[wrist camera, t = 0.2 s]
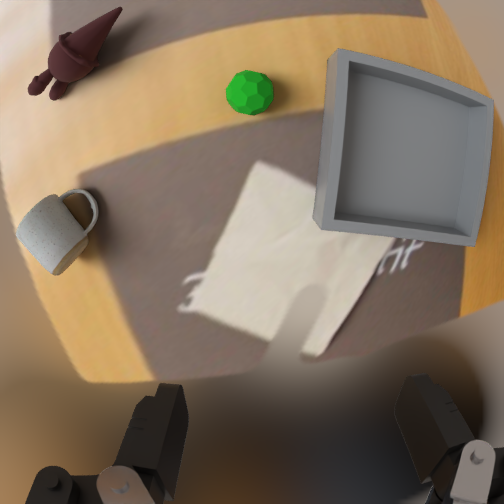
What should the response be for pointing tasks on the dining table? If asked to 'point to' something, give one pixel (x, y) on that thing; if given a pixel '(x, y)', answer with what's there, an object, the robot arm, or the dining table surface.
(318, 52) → the dining table surface
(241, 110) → the polyhedron
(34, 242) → the ceramic mug
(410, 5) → the dining table surface
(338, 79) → the crate
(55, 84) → the icecream
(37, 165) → the dining table surface
